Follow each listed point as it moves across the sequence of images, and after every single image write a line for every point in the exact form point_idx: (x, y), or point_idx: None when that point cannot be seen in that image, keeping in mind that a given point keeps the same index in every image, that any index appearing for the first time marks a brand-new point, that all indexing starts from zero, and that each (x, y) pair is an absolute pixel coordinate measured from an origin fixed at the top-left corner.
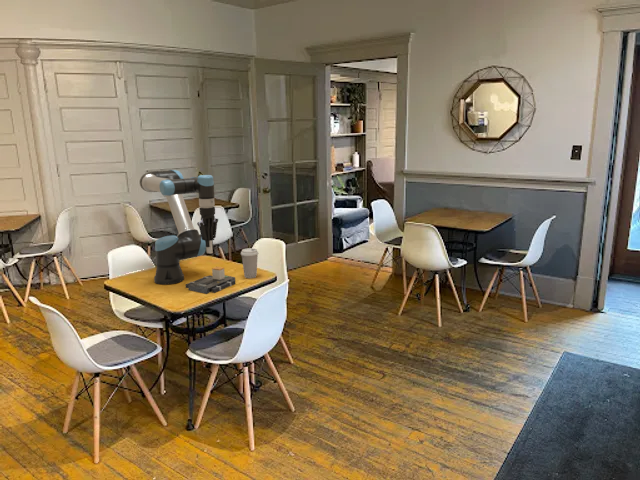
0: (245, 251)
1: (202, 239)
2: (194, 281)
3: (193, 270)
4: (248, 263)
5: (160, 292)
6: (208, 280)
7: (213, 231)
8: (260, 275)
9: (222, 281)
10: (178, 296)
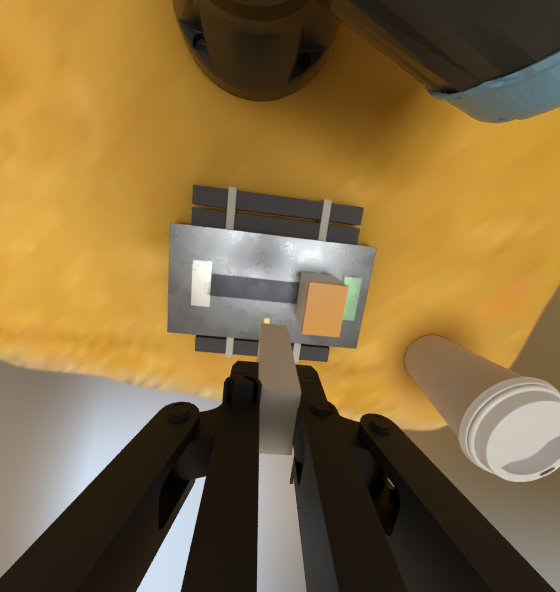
0: (490, 442)
1: (163, 415)
2: (250, 199)
3: None
4: (438, 408)
5: (86, 110)
6: (272, 268)
7: (413, 565)
8: None
9: None
10: (91, 235)
